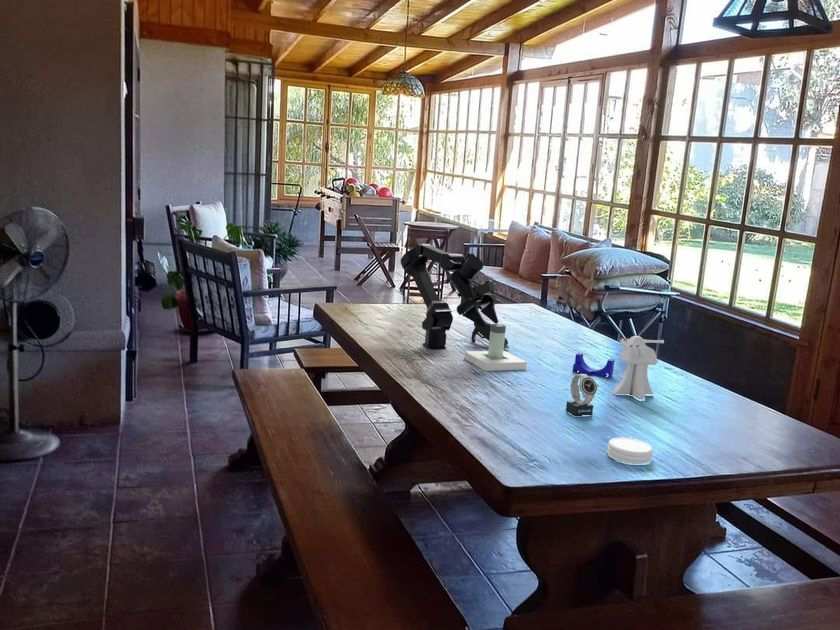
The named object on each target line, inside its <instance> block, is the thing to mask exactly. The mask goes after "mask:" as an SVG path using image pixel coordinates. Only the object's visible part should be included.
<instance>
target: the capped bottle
mask: <svg viewBox="0 0 840 630" xmlns="http://www.w3.org/2000/svg"><path fill="white" fill-rule="evenodd" d="M490 324H491V330H490V339H489V341H488V350H487V351H488V358H489V359H491V360H495V359H503V351H505V349H504V341H505V338H506V329H507V325H504V324H501V323H497V324H495V323H490Z"/></svg>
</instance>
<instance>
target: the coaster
mask: <svg viewBox="0 0 840 630" xmlns="http://www.w3.org/2000/svg"><path fill="white" fill-rule="evenodd" d="M653 452H654V448H653V447H652V446H651V445H650V444H649V443H648V442H645V441H643V440H640V439H635V438H630V437H622V436H621V437H613V438H611V439H610V440H609V441H608V446H607V452H606V455H607V454H608V455H607V457H608V456H609V457H611V458H613V459H615V460H617V461H620V462H624V463H632V464H642V463H647V462H649V461H651V459H652V458H653ZM609 457H608V458H609ZM651 462H652V461H651Z"/></svg>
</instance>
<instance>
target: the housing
mask: <svg viewBox="0 0 840 630" xmlns="http://www.w3.org/2000/svg"><path fill="white" fill-rule="evenodd" d="M463 359H464V360H465V361H467V362H469V363H471V364H472V363H473V365H474V366H476V367H478V368H479V369H481V370H483V371H485V372H488V371H489V372H490V371H491V372H492V371H494V372H495V371H516V370H517V371H521V370H522V371H523V370H524V371H525V370H526V371H527V364H528V362H527V361H526V360H524V359H522V358H519V357H517V356H516V355H514V354H512V353H509V352H508V351H506V350H503V359H495V360H491V359H489V358H488V350H475V351H474V350H473V351H472V350H471V351H468V350H467V351H464V357H463Z"/></svg>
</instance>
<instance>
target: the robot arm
mask: <svg viewBox="0 0 840 630" xmlns="http://www.w3.org/2000/svg"><path fill="white" fill-rule="evenodd" d="M429 260H431V261H434V262H435V263H438V264H439V267H440V268H441V269H442V270H443V271H445V272H452V273H450V274H448V275H446V279H445V280H446V284H447V285H449V284H450V283H451V284H452V285H453V286H454V288H455V290H456V291H457V292H458V294H456V295H457V297H458V298H462V300H463V301H462V302H461V303H459V304H458V305H457V306H456V312H457V313H458V315H459V316H462V318H464V317H465V318H466V319H468V320H470V321H472V322H473V323H474V322H475V323H477V324H478V325H480V326H482V327H485V326H486V324H485V322H486V321H485V320H484V318H483V316H482V315H481V313H482V314H483V315H484V316H485V317H486V318H487V319H489V320H490V321H491V322H492V323H493V324H499V318H498V316H497V312H496V308H495V304H496V302H497V299H498V298H497V296H496V294H493V292H495V291H496V289H495V287H496V283H495V282H494V281H493V280H492V279H487V280H485V281H484V283H482V284H478V283H474V282H473V281H472V279H474V278H475V277H476V276H477V275H478V274H479V272H481V271H482V270H483V268H484V263H483V261H482V260H481V259H480V258H479V257H477V256H475V253H473V252H471V253H468V254H467V255H466V257H465V256H464V255H463V254H462V253H456V252H455V253H454V252H453V253H452V252H446V251H445V250H443V249H440V248H438V247H435V246H434V245H432V244H431V243H418V244H416V245H415V247H413V248H411V249H410V250H408V251H406V252H405V253H404V254H403V255H402V257H401V258H400V265H401V268H402V269H403V270H404V272H405V274H407V275H409V277H412V278H413V281H414V283H415V285H416V287H417V289H418V291H419V294H420V296H421V297H422V300H423V302H424V304H425V306H426V313H425V316H426V318H424V320H423V321H422V322H421V328H422V329H423V330H425V335H424V336H425V337H424V342H423V343H422V345H423V346H425V347H426V348H427V349H434V350H436V349H437V350H439V349H441V350H442V349H447V346H446V345H447V344H446V343H447V333H446V332H447V331H450V329H451V326H452V323H453V321H454V317H453V313H452V310H451V308H450V306H449V304H448V303H447V302H441V301H440V299H439V297H438V295H437V293H436V291H435V288H434V286H433V284H432V283H431V281H430V279H429V277H428V275H427V272H426V268H427V263H428V262H429ZM491 292H492V293H491ZM484 321H485V322H484Z"/></svg>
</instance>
